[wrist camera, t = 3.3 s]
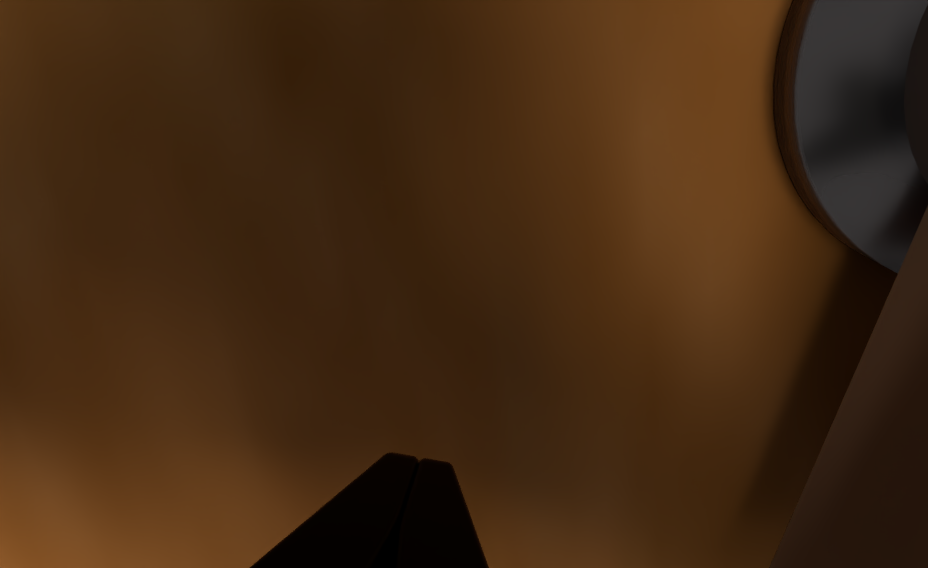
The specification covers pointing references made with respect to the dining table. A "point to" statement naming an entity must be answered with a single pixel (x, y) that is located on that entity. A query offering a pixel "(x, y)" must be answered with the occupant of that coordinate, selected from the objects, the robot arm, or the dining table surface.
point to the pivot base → (851, 120)
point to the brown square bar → (878, 414)
